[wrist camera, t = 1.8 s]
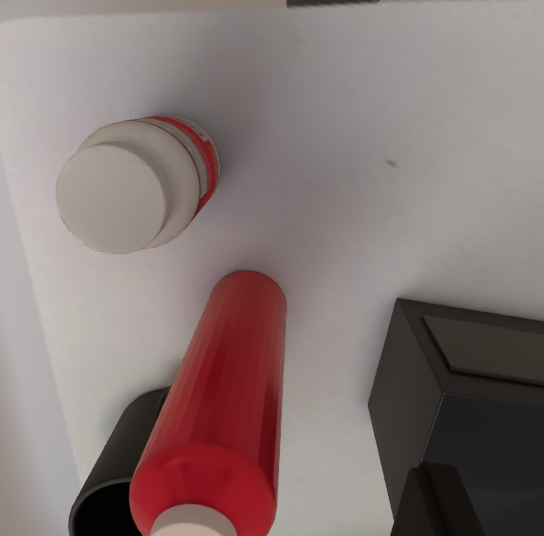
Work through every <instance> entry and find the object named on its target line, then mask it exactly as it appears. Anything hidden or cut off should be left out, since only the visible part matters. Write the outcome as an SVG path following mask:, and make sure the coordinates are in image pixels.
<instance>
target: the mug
mask: <svg viewBox="0 0 544 536" xmlns="http://www.w3.org/2000/svg"><path fill="white" fill-rule="evenodd" d="M169 391H170V390H169V389H168V390H160V391H155V392H152V393H149V394H146V395H144V396H142V397H140V398H139V399H137V400H135V401H134V402H133V403H132V404H130V405H129V406H128V407H127V409H126V410H125V411H124V412H123V414H122V416H121V418H120V420H119V421H118V423H117V425H116V427H115V429H114V431H113V432H112V434H111V436H110V438H109V440H108V442H107V443H106V445H105V447H104V449H103V451H102V453H101V454H100V456H99V458H98V460H97V462H96V464H95V465H94V467H93V469H92V471H91V473H90V475H89V476H88V478H87V480H86V482H85V484H84V486H83V488H82V489H81V491H80V493H79V495H78V497H77V499H76V500H75V503H74V504H73V506H72V508H71V512H70V516H69V525H68V528H69V534H70V536H143V535H142V534H141V532H140V531H139V530H138V528H137V526H136V524H135V522H134V520H133V517H132V515H131V510H130V504H129V491H130V484H131V481H132V478H133V475H134V472H135V470H136V467H137V465H138V463H139V461H140V458H141V456H142V454H143V451H144V449H145V447H146V444H147V442H148V440H149V437H150V435H151V433H152V430H153V428H154V426H155V423H156V421H157V419H158V416H159V414H160V412H161V409H162V407H163V405H164V402H165V400H166V398H167V395H168V393H169Z"/></svg>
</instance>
